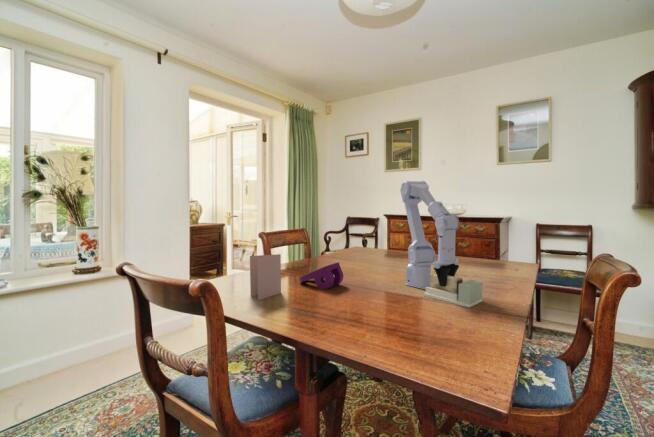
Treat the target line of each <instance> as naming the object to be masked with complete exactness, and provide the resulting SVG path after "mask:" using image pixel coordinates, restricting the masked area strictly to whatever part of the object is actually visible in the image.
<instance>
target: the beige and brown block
mask: <svg viewBox="0 0 654 437" xmlns="http://www.w3.org/2000/svg"><path fill="white" fill-rule="evenodd" d="M463 282H464V280H463V277H458V276H449V275H448V277H447V284H446V287H443V286H440V285H439V280H438V277H437V274H436V272H435V273H433V274H432V273H431V287H430V288H434V289H439V290H443V291H447V292H452V293H456V294H458V292H459V284H460V283H463Z"/></svg>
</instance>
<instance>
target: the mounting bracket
mask: <svg viewBox="0 0 654 437" xmlns="http://www.w3.org/2000/svg"><path fill="white" fill-rule="evenodd" d="M343 272H344V271H343V270H342V268H341V264H340V262H336V263H335V262H334V263H331V264H328V265H325V266H323V267H320V268H318V269H316V270H314V271H311V272H310V273H309V272H308V273H307V274H305V275H303V276H302V275H301V276H300V277H299V278H298V280H299V281H300V284H301V283H304V282H307V281H310V280H312V279H314V282H315V284H316V286H317V287H318V288H319V289H320V288H321V290H328V289H331V288H332V287H333V286H337V285H338V286H339V285H340V284H342V282H343V280H344V273H343Z"/></svg>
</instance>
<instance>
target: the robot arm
mask: <svg viewBox="0 0 654 437" xmlns="http://www.w3.org/2000/svg"><path fill="white" fill-rule="evenodd" d="M429 187H430V186H429V184H427V182H426V181H424V180H421V181H420V180H419V181H418V180H417V181H416V180H415V181H413V180H404V181H403V182H402V183H401V186H400V194H401V199H402V203H404V208H405V213H406V217H407V222H408V228H409V232H410V235H411V241H412V242H411V244H409V246H407V251H408V252H407V254H408V255H407V257H408V258H407V259H408V261H409V262H410V263H408V265H407V266H406V270H405V271H406V273H405V274H406V275H405V276H406V277H405V284H404V285H405V286H408V287H414V288H417V289H421V290H426V287H430V288H431V275H432V266H433V269H434V272H435V273H436V274H437V277H438V280H439V285H440V286H443V287H446V284H447V277H448V275H449V276H454V277H456V273H457V271H458V269H459V268H460V265H459V259H460V258H459V257H456V231H457V230H459V228H460V220H459V217H458V215H457V214H452V213H450V212H449V210H447V208H446V207H445V206H444V203H443V202H441V201H438V200H437V201H436V199H435V197H434V196H433V195H432V193H431V192H430V190H429ZM422 202H423V203H424V204H425V205H426V206H427V212H428V213H429V215H430V216H431V217H432V219H433V220H434V221H435V222H434V225H435V226H434V227H435V229H436V234H437V236H438V243H437V244H438V245H437V246H438V247H437V248H438V251H437V252H438V253H437V255H438V258H437V255H436V252H435V249H434V247H433V245H432V243H431V242H429V241H427V239H426V235H425V231H424V227H423V222H422V219H421V218H422V217H421V215H420V214H421V213H420V209H419V206H418V205H419V203H422ZM436 259H437V260H436Z"/></svg>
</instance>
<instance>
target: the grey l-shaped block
mask: <svg viewBox="0 0 654 437" xmlns="http://www.w3.org/2000/svg"><path fill="white" fill-rule="evenodd" d="M423 297H427V298H431V299H434V300H438V301H442V302H445V303H449V304H454V305H458V306H463V307H466V308H471V307H473V306H475V305H477V304H479V303H482V302H483V281H481V280H477V279H476V280H475V279H469V280H465V281H463V283H460V284H459V292H458V294H456V293H452V292H447V291H443V290H439V289H434V288H431V287H426V289H425V292H424V293H423Z"/></svg>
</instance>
